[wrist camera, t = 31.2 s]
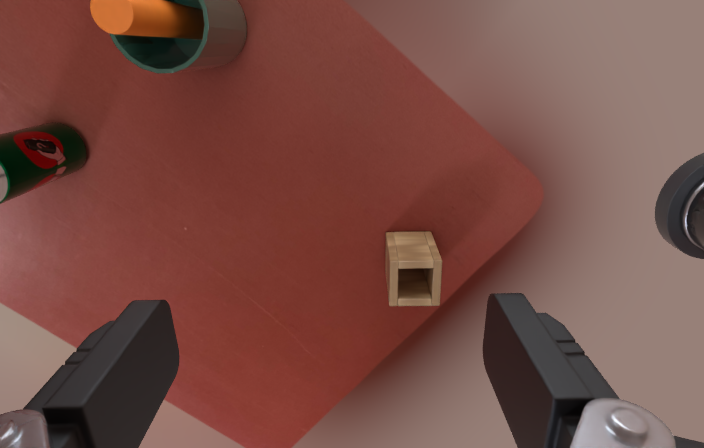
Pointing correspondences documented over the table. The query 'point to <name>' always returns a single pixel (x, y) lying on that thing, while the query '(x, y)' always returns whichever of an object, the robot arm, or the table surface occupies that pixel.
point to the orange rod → (148, 18)
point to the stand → (412, 269)
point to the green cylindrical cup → (191, 41)
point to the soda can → (38, 157)
